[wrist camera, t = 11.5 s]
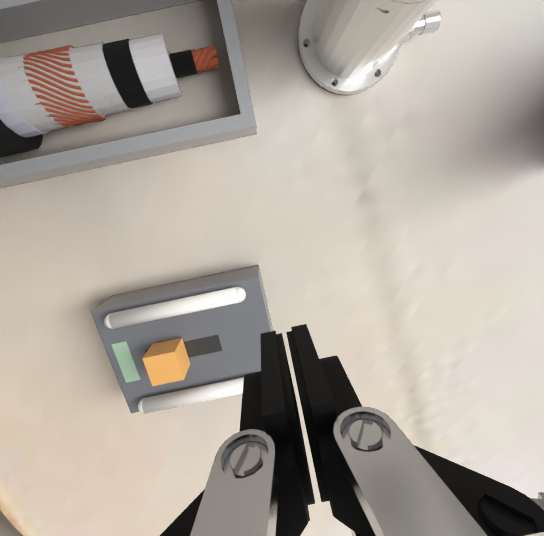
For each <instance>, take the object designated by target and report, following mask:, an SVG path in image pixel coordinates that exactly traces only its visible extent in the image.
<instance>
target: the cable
mask: <svg viewBox="0 0 544 536" xmlns="http://www.w3.org/2000/svg"><path fill="white" fill-rule="evenodd" d="M218 68H220V67H219V60H218V57H217V51H216V49H215V46H209V47H206V48H205V49H204V48H201V49H198V50H192V51H191V50H187V51H182V52H177V53H172V54H170V53H169V50H168V47H167V44H166V41H165V39H164V36H163V34H157V35H152V36H147V37H142V38H137V39H132V40H129V39H125V40H120V41H115V42H111V43H106V44H105V43H104V42H102V43H97V44H92V45H87V46H82V47H77V48H74V47H73V46H70V45H69V46H65V47H60V48H55V49H51V50H46V51H39V52H36V53H29V54H23V55H18V56H13V57H8V58H5V57H0V157H3V156H8V155H12V154H16V153H21V152H25V151H29V150H34V149H38V148H39V147H40V145H41V143H42V137H43V136H42V134H45V133H49V131H52V130H57V129H61V128H66V127H68V126H73V125H74V126H76V125H81V124H84V123H89V122H94V121H103V120H105V117H106V115H110V114H115V113H119V112H124V111H129V110H131V109H132V108H136V107H140V106H145V105H150V104H153V102H157V101H161V100H166V99H170V98H174V97H179V96H182V94H181V90H180V86H179V83H178V79H177V78H180V77H184V76H188V75H193V74H197V72H202V71H208V70H214V69H218Z"/></svg>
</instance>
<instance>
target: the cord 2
mask: <svg viewBox="0 0 544 536" xmlns="http://www.w3.org/2000/svg"><path fill="white" fill-rule="evenodd" d="M243 382H244V377H243V378H238V379H233V380H228V381H224V382H219V383H214V384H209V385H204V386H199V387H195V388H190V389H185V390H180V391H175V392H170V393H165V394H161V395H156V396H151V397H146V398H143V399H142V400H140V402H139V403H138V410H139V412H141V413H144V414H145V413H150V412H155V411H160V410H165V409H170V408H175V407H179V406H184V405H189V404H194V403H199V402H204V401H208V400H213V399H218V398H223V397H228V396H233V395H238V394H242V393H243Z"/></svg>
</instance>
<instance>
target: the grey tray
mask: <svg viewBox="0 0 544 536" xmlns="http://www.w3.org/2000/svg"><path fill="white" fill-rule="evenodd" d="M195 1H200V0H0V43H4V42H8V41H13V40H18V39H22V38H27V37H32V36H36V35H41V34H46V33H50V32H55V31H60V30H64V29H69V28H74V27H78V26H83V25H88V24H92V23H97V22H102V21H106V20H111V19H116V18H120V17H125V16H130V15H134V14H139V13H144V12H148V11H153V10H158V9H163V8H167V7H172V6H177V5H181V4H186V3H191V2H195ZM217 4H218V8H219V13H220V18H221V23H222V27H223V32H224V37H225V42H226V47H227V51H228V56H229V61H230V66H231V70H232V75H233V80H234V85H235V90H236V94H237V99H238V104H239V109H240V113H241V114H238V115H234V116H229V117H224V118H219V119H215V120H210V121H205V122H201V123H196V124H191V125H186V126H182V127H177V128H172V129H167V130H163V131H158V132H153V133H149V134H144V135H139V136H134V137H130V138H125V139H120V140H115V141H111V142H106V143H101V144H97V145H92V146H87V147H82V148H78V149H73V150H68V151H63V152H59V153H54V154H49V155H45V156H40V157H35V158H30V159H26V160H21V161H16V162H12V163H7V164H2V165H0V188H4V187H8V186H13V185H18V184H23V183H27V182H32V181H37V180H41V179H46V178H51V177H56V176H60V175H65V174H70V173H75V172H79V171H84V170H89V169H94V168H98V167H103V166H108V165H113V164H117V163H122V162H127V161H131V160H136V159H141V158H146V157H150V156H155V155H160V154H165V153H169V152H174V151H179V150H184V149H188V148H193V147H198V146H202V145H207V144H212V143H217V142H221V141H226V140H231V139H236V138H240V137H245V136H250V135H255V134H257V133H256V121H255V116H254V111H253V106H252V101H251V96H250V91H249V86H248V81H247V76H246V71H245V66H244V61H243V56H242V51H241V46H240V41H239V36H238V31H237V25H236V20H235V15H234V10H233V5H232V0H217Z"/></svg>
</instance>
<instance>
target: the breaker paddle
mask: <svg viewBox="0 0 544 536" xmlns="http://www.w3.org/2000/svg"><path fill="white" fill-rule="evenodd" d="M142 359H143V362H144V365H145V367H146V370H147V373H148V376H149V378H150V381H151V384H152V386H156V385H161V384H166V383H171V382H176V381H181V380H184V378H185V376H186V373H187V371H188V368H189V366H190V361H189V358H188V355H187V351H186V348H185V345H184V342H183V339H182V338H178V339H173V340H168V341H163V342H158V343H154V344H152V345H151V347H150V348H149V350H148V351H147V352H146V354H145V355H144V357H143V358H142Z"/></svg>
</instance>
